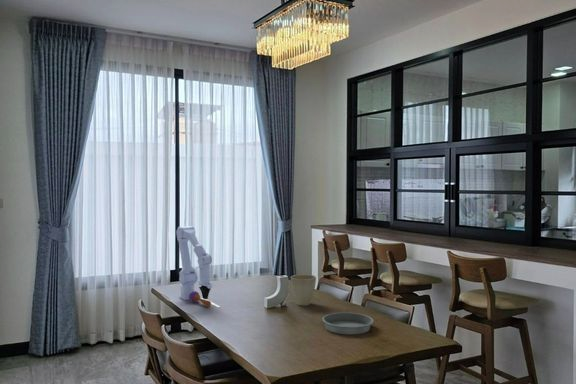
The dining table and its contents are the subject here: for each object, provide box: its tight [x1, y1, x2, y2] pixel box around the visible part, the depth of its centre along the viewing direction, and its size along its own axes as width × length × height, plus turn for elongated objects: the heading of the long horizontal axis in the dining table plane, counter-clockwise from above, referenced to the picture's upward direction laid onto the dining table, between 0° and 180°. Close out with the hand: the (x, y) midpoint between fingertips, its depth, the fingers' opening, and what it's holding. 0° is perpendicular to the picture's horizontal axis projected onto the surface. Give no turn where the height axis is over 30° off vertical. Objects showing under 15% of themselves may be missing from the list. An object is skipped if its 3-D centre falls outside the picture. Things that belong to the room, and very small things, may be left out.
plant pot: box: [290, 274, 317, 307], centre depth 281 cm, size 15×15×16 cm
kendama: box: [189, 290, 212, 308], centre depth 282 cm, size 6×6×20 cm
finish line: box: [200, 297, 221, 308], centre depth 286 cm, size 26×2×1 cm, turn 32°
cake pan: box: [321, 312, 374, 335], centre depth 235 cm, size 25×25×4 cm
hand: (205, 298), depth 284 cm, fingers closed, pressing on kendama
